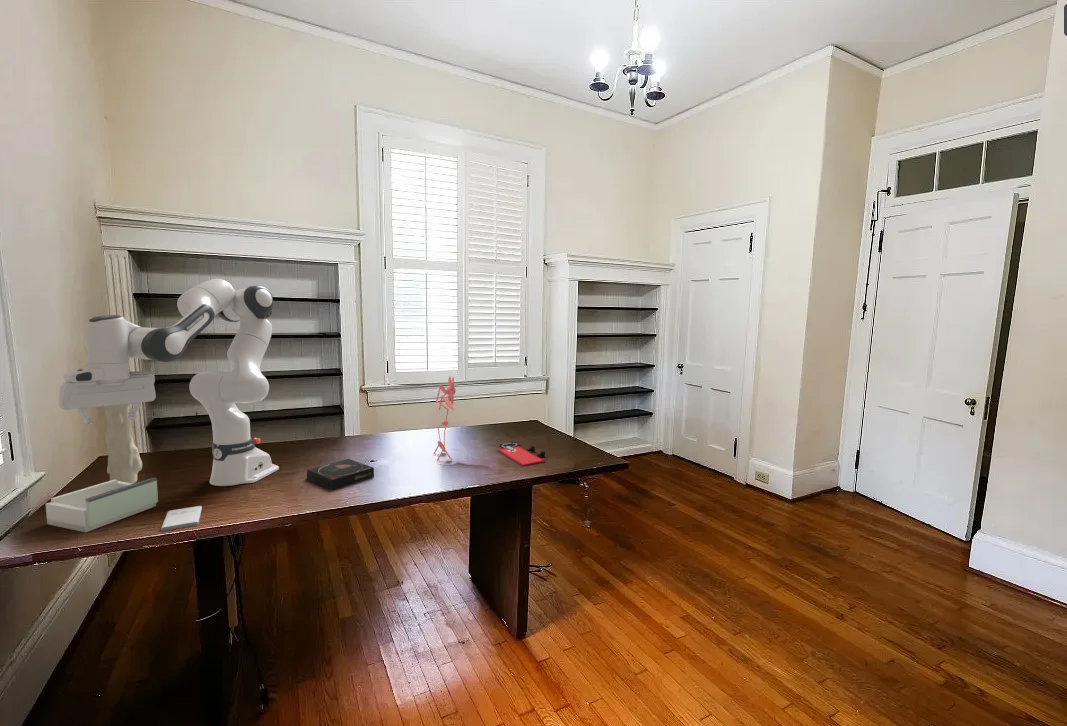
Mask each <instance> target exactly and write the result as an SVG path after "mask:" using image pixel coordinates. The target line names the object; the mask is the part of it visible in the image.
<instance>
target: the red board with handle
mask: <svg viewBox="0 0 1067 726" xmlns="http://www.w3.org/2000/svg"><path fill="white" fill-rule="evenodd" d="M499 446H501V447H502V448H500V449H497V451H496V452H497V453H499V454H500V455H502V456H505V457H506V458H508V459H509V460H511V461H513V462H514V463H516V464H518V465H520V467H527V466H533V465H538V464H544V462H545V463H546V460H545V459H543V458H545V457H546V451H544V450H540V453H538V454H534V453H535V451H536V446H534V445H530V448H527V449H525V448H523V447H522V445H520V444H518V443H517V442H514V441H513V442H507V443H503V444H499ZM541 456H542V457H541Z"/></svg>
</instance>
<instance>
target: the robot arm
mask: <svg viewBox="0 0 1067 726" xmlns="http://www.w3.org/2000/svg"><path fill="white" fill-rule="evenodd" d="M176 302H177V303H176V306H177V309H178V311H179V313H180V315H181V316H182V318H181V319H180V320H179V321H177V322H176V323H175V324H173V325H172V326H166V327H146V326H145V327H144V326H141V325H138V324H135V323H133V322H130V321H128V320H127V319H125V317H124V316H122V315H117V314H116V315H115V314H109V315H108V314H107V315H98V316H93V317H92V318H90V319H89V320H88V321H87V322H86V327H85V335H84V339H85V340H84V341H85V343H84V344H85V349H86V351H87V358H86V366H85V367H82V368H78V369H75V370H71V371H68V372H65V373H63V379H64V380H65V382H63V383H62V384H61V386H60V388H59V393H58V406H59V408H61V409H63V410H67V411H69V410H77V412H78V413H79V414H80V415H81V416H82V417H83V422H84V424H85V425H88V424H94V417H93V416H89V415H87V412H88V409H89V408H90V409H91V408H98V407H99V408H100V407H104V406H110V405H120V404H130V405H131V404H132V406H133V408H132V409H133V410H132V411H131V412H128V418H129V419H132V418H134V419H137V418H138V417H137V413H138V412H139V410H140V409H141V407H142V403H146V402H148V403H149V402H153V401H155V400H156V398H157V397H156V395H157V394H156V389H155V382H156V377H155V374H154V372H151V371H149V370H140V371H137V370H136V371H135V370H134V371H131V370H130V360H129V359H136V360H147V361H157V362H162V363H163V362H165V363H169V362H173V361H175V360H177V359H178V358H179V357H180V356H181V355H182V354H183V353H184V352H185V350H186V348H187V347H188V345H189V344H190V343H191V342H192V341H193V340H194V339H195V338H196V337H197V336H198V335H200V334H201V332H203V331H204V330H205V329H206V328H207V327H208V326H209V325H210V324H211V323H212V321H214V319H215V316H217V315H218V316H219V317H220V318H221V319H222V320H224V321H225V322H229V323H237V322H239V328H238V331H237V332H236V334H235V336H234V337H233V340H232V342H231V344H230V346H229V348H228V350H227V351H226V355H227V360H228V361H229V362H230V363H231V364H232V365H234V368H233V369H232V370H231V371H222V370H221V371H219V370H218V371H217V370H210V371H204V372H200V373H196V374H195V375H194V376H193V377H192V378H191V379H190V382H189V387H188V388H189V392H190V395H191V396H192V397H193V398H194V399H195V400H197V401H198V402H199V403H200V404H201V405H202V406H203V407H204V409H205V410H206V412H207V414H208V416H209V419H210V422H211V429H212V439H213V440H212V441H213V442H212V443H211V454H212V457H213V460H212V466H211V467H212V470H211V475H210V479H209V484H210V485H212V486H217V487H227V486H235V485H241V484H252V483H256V482H258V481H260V480H262V479H264V478H266V477H267V476H269V475H272V474H273V473H275V472H277V471H278V470H280V466H278V464H277V465H276V464H274V463H272V459H271V456H270V454H269V453H268V452H265V451H263V450H261V449H260V448H257V447H256V445H255V444H260V443H261V441H262V440H261V438H260V437H258V438H257V437H254V438H252V437H251V424H250V423H251V421H250V418H249V416H248V415H247V414H245V413H244V412H243V411H241V410H240V409H239V408H238V406H237V405H236V404H251V403H257V402H258V403H259V402H262V401H263V400H264V399H265V398H266V397H267V396H268V394H269V390H270V384H269V381H268V379H267V378H266V376H265V375H263V373H262V370H261V364H262V361H263V358H264V356H265V354H266V351H267V349H268V348H269V343H270V341H271V338H272V334H273V325H272V323H271V322H270V321H269V320H268V318H269V317H271V316H272V314H273V313H272V310H273V308H274V296H273V295H272V293H271V291H270V290H269V289H268V288H266V287H265V286H262V285H250V286H248V287H244V288H240V289H235V288H234V287H233V286H232V284H231V283H230V282H228V281H226V280H225V279H222V278H213V279H209V280H206V281H203V282H201V283H199V284H196V285H195V286H193V287H191V288H190V289H188V290H186V291H184V293H182V294H181V295H180V296H179V298H177V301H176Z"/></svg>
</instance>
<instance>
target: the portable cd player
mask: <svg viewBox="0 0 1067 726" xmlns="http://www.w3.org/2000/svg"><path fill="white" fill-rule="evenodd" d="M374 471H375V467H373V466H370V465H367V464H364V463H362V462H358V461H355V460H354V459H350V458H346V459H341V460H338V461H335V462H332V463H331V462H330V463H327V464H324V465H319V466H316V467H313V468H311V467H310V468H309V469H308V468H307V470H306V479H307V480H310V482H314V483H315V484H319V485H321V486H323V487H325V488H327V489H329V490H332V491H333V490H337V489H339V488H343V487H346V486H349V485H353V484H356V483H359V482H362V481H365V480H369V479H371V478H374V477H375V472H374Z"/></svg>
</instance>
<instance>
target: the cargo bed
mask: <svg viewBox="0 0 1067 726" xmlns="http://www.w3.org/2000/svg"><path fill="white" fill-rule="evenodd" d="M131 484H133V483H127V482H121V481H119V482H118V480H111V481H110V480H109V481H105V482H101V483H98V484H95V485H90V486H88V487H85V488H82V489H77V490H75V491H71V492H68V493H64V494H61V495H58V496H55V497H51V498H50V501H49V502H46V503H45V512H46V523H47V525H49V526H54V527H59V528H64V529H68V530H73V531H78V532H82V533H87V532H90V531H94V530H96V529H98V528H101V527H103V526H106V525H109V524H112V523H114V522H117V521H120V520H122V519H125V518H128V517H130V516H133V515H136V514H138V513H141V512H145V511H147V510H149V509H152V508H155V507H157V502H156V503H154V504H151V505H148V506H145V507H143V508H140V509H137V510H135V511H132V512H129V513H126V514H124V515H121V516H118V517H115V518H113V519H110V520H107V521H105V522H102V523H99V524H96V525H94V526H88V523H87V510H86V499H87V498H90V497H93V496H96V495H99V494H102V493H106V492H109V491H112V490H115V489H118V488H121V487H125V486H128V485H131Z"/></svg>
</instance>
